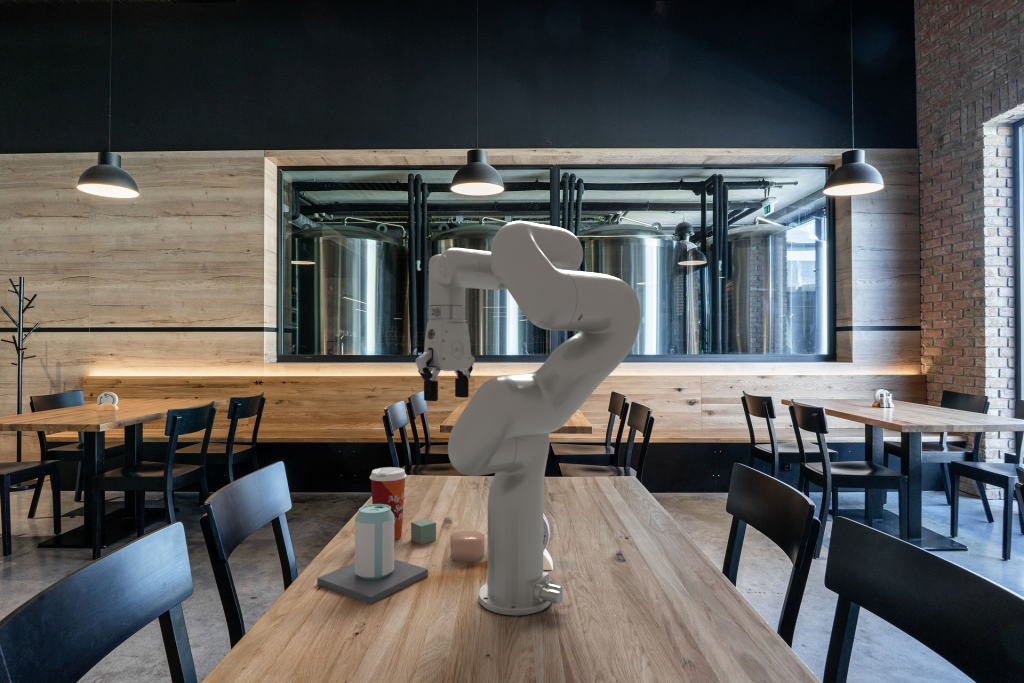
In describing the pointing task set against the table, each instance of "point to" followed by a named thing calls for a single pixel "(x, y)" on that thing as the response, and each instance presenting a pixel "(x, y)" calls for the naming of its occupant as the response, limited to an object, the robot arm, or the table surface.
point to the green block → (423, 531)
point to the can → (374, 541)
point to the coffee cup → (390, 493)
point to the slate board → (371, 581)
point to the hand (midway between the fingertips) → (446, 398)
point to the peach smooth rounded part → (467, 546)
